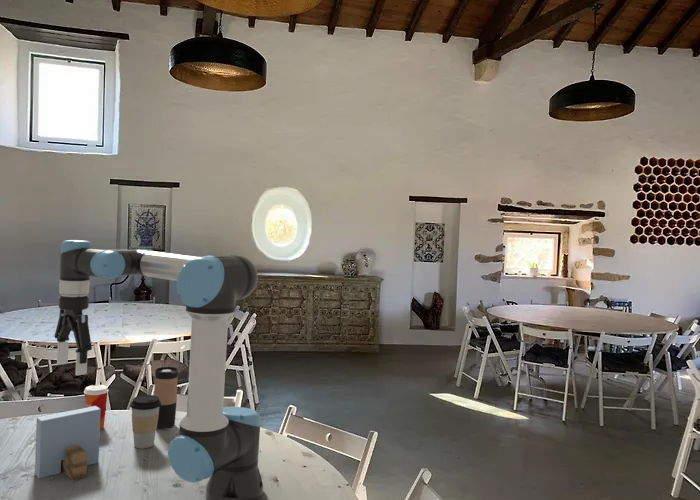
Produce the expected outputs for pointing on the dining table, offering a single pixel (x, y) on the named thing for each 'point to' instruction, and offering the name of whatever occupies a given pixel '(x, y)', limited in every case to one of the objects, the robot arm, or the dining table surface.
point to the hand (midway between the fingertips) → (71, 369)
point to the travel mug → (166, 395)
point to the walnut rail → (75, 463)
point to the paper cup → (97, 399)
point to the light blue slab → (66, 438)
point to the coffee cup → (145, 419)
